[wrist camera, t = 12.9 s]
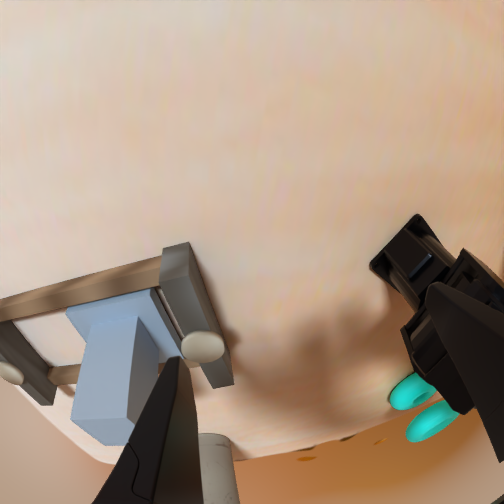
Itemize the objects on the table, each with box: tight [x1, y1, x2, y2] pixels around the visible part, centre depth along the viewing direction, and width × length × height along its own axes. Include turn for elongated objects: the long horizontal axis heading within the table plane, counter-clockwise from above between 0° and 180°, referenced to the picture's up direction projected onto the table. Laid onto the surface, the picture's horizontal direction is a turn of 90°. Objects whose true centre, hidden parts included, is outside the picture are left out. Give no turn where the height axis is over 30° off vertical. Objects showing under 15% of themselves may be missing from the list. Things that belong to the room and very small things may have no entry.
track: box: [0, 242, 234, 406], centre depth 23 cm, size 24×13×5 cm, turn 100°
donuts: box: [390, 372, 459, 442], centre depth 39 cm, size 10×10×10 cm
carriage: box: [65, 287, 184, 446], centre depth 21 cm, size 8×8×10 cm
